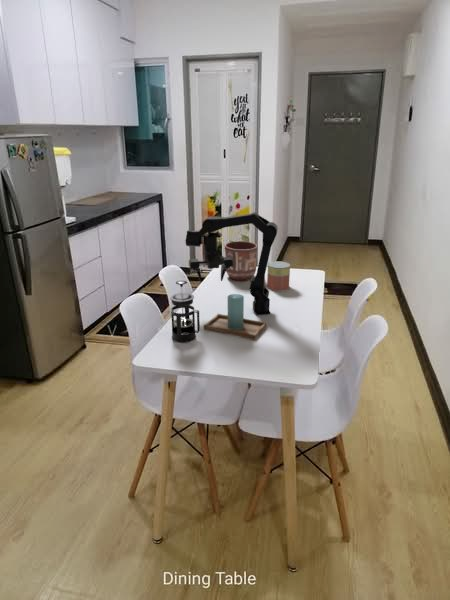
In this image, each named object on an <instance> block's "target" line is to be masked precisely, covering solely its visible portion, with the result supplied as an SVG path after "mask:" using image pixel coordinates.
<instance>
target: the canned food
mask: <svg viewBox="0 0 450 600" xmlns="http://www.w3.org/2000/svg"><path fill="white" fill-rule="evenodd" d="M290 274H291V264H290V263H289V262H286V261H276V260H275V261H271V262H268V263H267V276H266V277H267V281H266V289H267V290H270V291H274V292H282V291H287V290H289V289H290Z"/></svg>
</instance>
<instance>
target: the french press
mask: <svg viewBox="0 0 450 600" xmlns="http://www.w3.org/2000/svg"><path fill="white" fill-rule="evenodd" d="M187 283H188V281H187V280H177V281H176V282H175V284H176V285H179V286H180V290H181V291H180V292H178V293H177V292H176V293H174V294H172V295H170V296H169V299H170V300H171V304H172V305H173V306H172V307H171V308H170V314H171V339H172V340H173V341H174V342H176V343H183V344H184V343H190V342H192V341H195V339H196V338H197V334H199V333H200V331H201V328H200V327H201V326H200V310H198V309H195V306H193V305H192V304H194V299H195V296H194V294H192V293H190V292H189V293H188V292H183V286H184V285H187ZM177 309H181V313H179V312H174V311H175V310H177ZM190 310H192V311H190ZM195 313H196V316H195ZM190 316H192V317H191V318H190ZM175 317H176V318H175ZM195 318H196V319H195ZM196 321H197V322H196ZM195 322H196V323H197V327H196V324H195ZM196 328H197V329H196ZM184 333H185V334H184Z"/></svg>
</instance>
